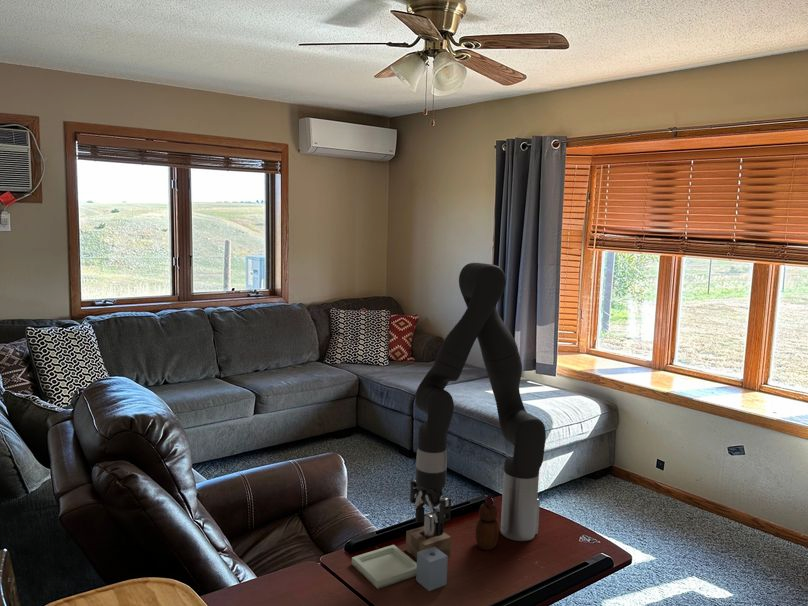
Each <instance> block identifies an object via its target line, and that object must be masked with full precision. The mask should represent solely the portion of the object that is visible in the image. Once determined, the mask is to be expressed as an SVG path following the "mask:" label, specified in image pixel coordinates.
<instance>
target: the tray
mask: <svg viewBox="0 0 808 606" xmlns="http://www.w3.org/2000/svg"><path fill="white" fill-rule="evenodd" d="M351 565H352V566H353V567H354V568H355V569H356V570H357V571H358V572H359V573H360V574H361V575H363V577H365V578H366V579H367V581H369V582H370V583H371V584H372V585H373V587H375V588H376V589H377V590H379V589H381V588H382V589H383V588H384V587H388V586H390V585H394V584H396V583H399V582H402V581H405V580H409V579H411V578H414V577H416V571H417V561H414V560H413V559H412V557H410V556H409V555H407V554H406V553H405V552H404V551H402V550H401V549H400V548H399V547H397V546H396V545H395V544H391V545H388V546H384V547H382V548H378V549H375V550H372V551H369V552H365V553H362V554H358V555H355V556H353V557H351Z"/></svg>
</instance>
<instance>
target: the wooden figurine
mask: <svg viewBox="0 0 808 606" xmlns="http://www.w3.org/2000/svg"><path fill="white" fill-rule="evenodd" d="M478 515H479V518H478V519H477V521H476V524H475V525H476V527H475V540H476V541H475V542H476V544H477V546H478V547H479V548H480V549H481V550H484V551H485V550H486V551H489V550H490V551H491V550H492V549H494V548H495V547H496V545H497V542H498V539H499V522H498V520H497V517H498V509H497V506H496V505H495V504H493V494H492V493H490V492H489V493H488V495H487V496H486V497H485V501H484V503H482V504H481V505H480V506H479V510H478Z"/></svg>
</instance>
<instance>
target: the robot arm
mask: <svg viewBox="0 0 808 606" xmlns="http://www.w3.org/2000/svg"><path fill="white" fill-rule="evenodd" d="M506 285H507V277H506V274H505V272H504V270H503V269H502V268H501V267H500V266H498V265H496V264H491V263H484V262H483V263H482V262H469V263H467V264H466V265H464V266H463V267H462V268H461V270H460V272H459V276H458V286H459V290H460V294H461V296H462V298H463V300H464V303H465V305H466V307H467V308H466V310H465V311H464V313H463V314H462V316H461V318H460V319H459V321H458V322H457V323H456V324H455V325H454V326H453V328H452V329H451V330H450V331H449V333H448V334H447V335H446V337H445V339H444V340H443V342H442V343H441V346H440V348H439V350H438V353H437V355H436V358H435V360H434V361H433V365H432V367H431V368H430V369H429V370H428V372H427V373H426V374H425V376H424V378H423V379H422V380H421V381H420V383H419V385H418V387H417V389H416V390H415V391H416V392H415V396H414V397H415V399H414V401H415V402H414V403H415V405H416V407H417V408H418V409H419V410H420V411H422V412H424V413H425V414H427V418H426V419H427V420H426V422H424V423H422V424H420V426H419V429H418V438H417V451H416V461H415V465H416V466H415V479H414V480H411V481H410V496H409V501H410V503H411V504H413V506H414V508H415V523H417V524H421V523H424V515H425V505H426V506H427V507H428V508H429V511H430V514H433V516H434V535H435V536H436V537H437V536H440V535H442V534H443V532H444V523H446V522H450V521H451V513H452V512H451V510H452V498H451V496H450V497H449V496H448V497H446V496H444V493H443V489H444V487H445V486H446V484H447V468H448V467H447V464H448V455H447V454H448V453H447V445H448V444H447V440H448V438H447V437H448V435H447V434H448V431H449V427H450V425H451V422H452V418H453V415H454V409H455V404H454V403H455V402H454V399H453V396H452V394H451V393H450V392H449V391H447V390H446V387H447V385H448V384H449V382H456V381H457V380H458V379H460V377H461V375H462V372H463V369H464V367H465V365H466V362H467V359H468V357H469V355H470V352H471V350H472V349H473V346H474V343H475V342H476V339H477V342H478V344H479V348H480V352H481V355H482V360H483V363H484V367H485V370H486V372H487V373H486V374H487V376H488V380H489V383H490V387H491V391H492V393H493V396H494V401H495V404H496V410H497V415H498V422H499V426H500V427H499V428H500V431H501V434H502V436H503V438H504V439H505V440H506V441H507V442H508V443H510V444H512V445H513V446H514V447H513V448H514V449H513V454H512V455H513V456H509V457H507V458H506V459H505V460H504V464H503V465H504V466H503V478H502V479H503V480H502V496H501V497H502V499H501V500H502V501H501V516H500V534H501V535H502V536H503V537H504V538H506V539H509V540H511V541H512V540H513V541H517V542H526V541H531V540H533V539H534V538H535V537H536V535H538V533H539V521H540V519H539V518H540V504H541V503H540V502H541V501H540V499H539V498H538V495H539V479H540V478H539V477H540V470H541V467H542V465H543V462H544V456H545V448H546V438H547V437H546V436H547V434H546V433H547V431H546V430H547V429H546V426H545V424H544V422H543V420H541V419H540V418H538V417H536V416H534V415H533V414H531V413H529V412H527V410H526V409H525V406H524V404H523V399H522V396H521V393H520V384H521V383H520V382H521V380H522V379H521V378H522V374H523V364H522V359H521V356H520V351H519V348H518V344H517V342H516V340H515V338H514V335H512V333H511V330H510V329H509V328H508V327H507V325H506V323H505V322H504V320H503V319H502V317H501V316H500V314H499V312H498V310H497V308H496V306H497V305H498V303H499V301H500V299H501V297H502V295H503V293H504V292H505V289H506ZM415 496H416V497H415ZM436 507H438V508H436ZM438 513H439V514H438ZM438 515H439V516H438Z"/></svg>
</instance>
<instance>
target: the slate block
mask: <svg viewBox="0 0 808 606" xmlns="http://www.w3.org/2000/svg"><path fill="white" fill-rule="evenodd" d="M448 558H449V556H447V555H445V554H444V553H443V552H441V551H440V550H439V549H437V548H436V547H432V548H429V549H426V550H422V551H419V552H417V559H416V563H417V571H416V576H415V578H416V579H415V581H416V582H418V584H420V585H421V586H422V587H423V588H425V589H426V590H427V591H428V592H430V591H433V590H436V589H438V588H441V587H444V586H446V585H447V580H448V560H449V559H448Z"/></svg>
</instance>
